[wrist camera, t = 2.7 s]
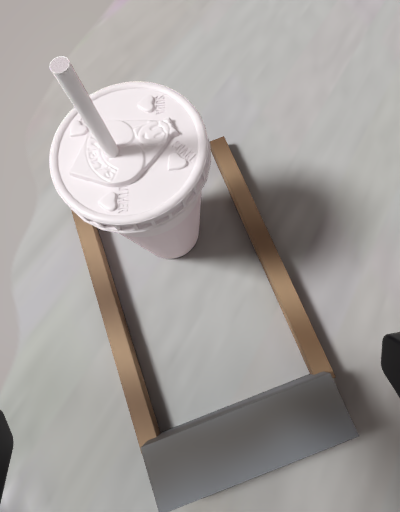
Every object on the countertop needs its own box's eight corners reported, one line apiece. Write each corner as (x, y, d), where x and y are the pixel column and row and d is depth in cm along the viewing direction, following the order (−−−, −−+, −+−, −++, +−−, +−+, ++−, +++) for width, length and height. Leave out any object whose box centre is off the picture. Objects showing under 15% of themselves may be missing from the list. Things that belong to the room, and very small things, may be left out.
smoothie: (108, 211, 24) (-59, 24, 10) (194, 170, 24) (142, -66, 10) (144, 297, 22) (-1, 206, 8) (237, 252, 22) (240, 93, 9)
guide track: (352, 422, 19) (369, 432, 16) (160, 498, 19) (149, 519, 16) (224, 144, 24) (223, 121, 22) (74, 203, 24) (56, 186, 22)
